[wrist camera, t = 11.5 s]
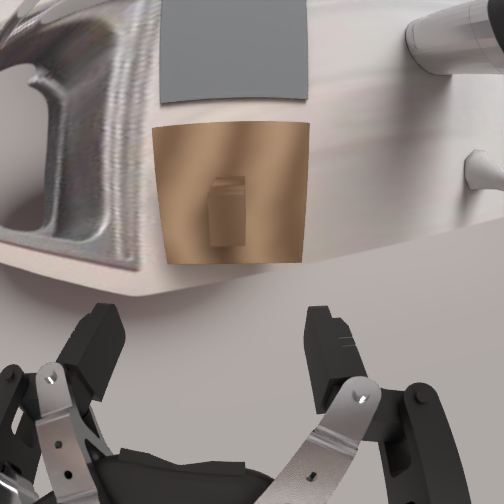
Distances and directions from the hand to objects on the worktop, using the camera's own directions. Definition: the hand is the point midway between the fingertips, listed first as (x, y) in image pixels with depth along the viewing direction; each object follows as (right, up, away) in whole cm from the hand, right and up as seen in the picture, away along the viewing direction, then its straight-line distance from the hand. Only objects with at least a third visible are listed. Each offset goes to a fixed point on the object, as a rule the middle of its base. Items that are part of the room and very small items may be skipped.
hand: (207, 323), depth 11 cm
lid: (0, +8, +15) cm, 18 cm away
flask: (+40, +17, +23) cm, 49 cm away
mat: (0, +29, +15) cm, 33 cm away
